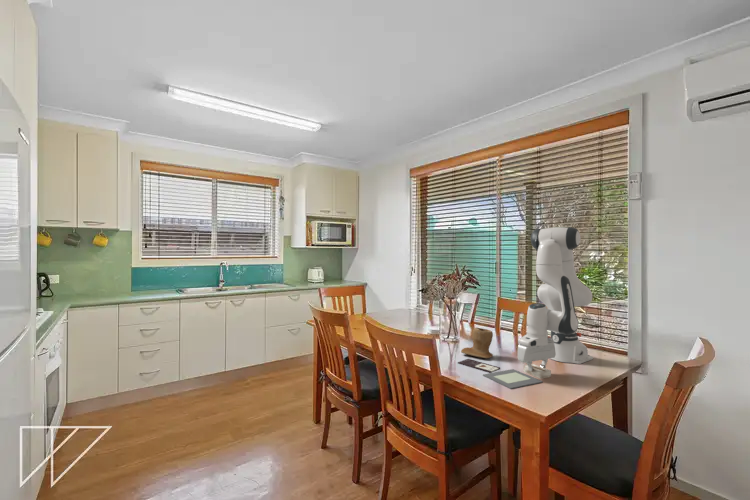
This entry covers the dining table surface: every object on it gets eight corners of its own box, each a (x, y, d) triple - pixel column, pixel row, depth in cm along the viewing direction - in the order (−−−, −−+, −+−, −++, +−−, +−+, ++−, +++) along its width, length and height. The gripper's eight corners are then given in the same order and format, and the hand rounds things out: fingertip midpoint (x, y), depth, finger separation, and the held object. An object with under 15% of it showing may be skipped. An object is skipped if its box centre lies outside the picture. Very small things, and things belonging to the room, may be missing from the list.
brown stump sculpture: (497, 356, 192) (497, 328, 192) (486, 361, 184) (486, 332, 184) (471, 350, 203) (471, 324, 203) (460, 355, 194) (460, 327, 194)
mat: (513, 370, 171) (513, 368, 171) (542, 382, 155) (542, 381, 155) (482, 375, 164) (482, 374, 164) (510, 389, 148) (510, 387, 148)
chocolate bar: (468, 358, 187) (499, 367, 173) (468, 360, 187) (499, 369, 173) (457, 362, 181) (489, 371, 167) (457, 364, 181) (489, 373, 167)
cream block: (523, 372, 169) (523, 365, 169) (533, 370, 171) (533, 363, 171) (541, 379, 160) (541, 372, 160) (550, 377, 162) (550, 370, 162)
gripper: (547, 335, 172) (547, 364, 173) (515, 340, 164) (515, 370, 164) (559, 338, 167) (559, 368, 167) (526, 343, 158) (526, 374, 159)
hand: (537, 369), depth 166 cm, fingers closed on cream block, 6 cm apart
